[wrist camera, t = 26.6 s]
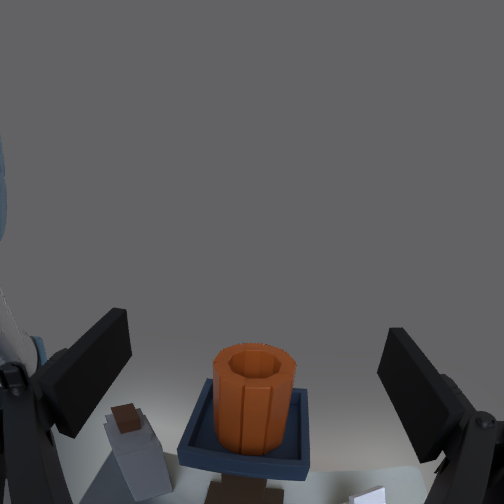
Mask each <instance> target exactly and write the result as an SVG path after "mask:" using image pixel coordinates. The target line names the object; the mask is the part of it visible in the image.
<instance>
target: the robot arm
mask: <svg viewBox="0 0 504 504" xmlns="http://www.w3.org/2000/svg"><path fill="white" fill-rule="evenodd" d="M4 176H5V167H4V157H3V151H2V143H1V137H0V240H1V239H2V237H3V234H4V229H5V224H6V207H7V205H6V186H5V180H4ZM131 356H132V351H131V344H130V337H129V329H128V321H127V311H126V309H119V308H112V309H111V310H110V311H109V312H108V313H107V314H106V315H105V316H104V317H102V318H101V319H100V320H99V321H98V322H97V323H96V324H95V325H94V326H93V327H92V328H90V329H89V330H88V331H87V332H86V333H85V334H84V335H83V336H82V337H81V338H80V339H79V340H78V341H77V342H76V343H75V344H74V345H72V346H71V347H70V348H69V349H66V348H64V349H62V350H60V351H58V352H56V353H55V354H54V355H53V356H52V357H51V358H50V359H49V360H47V358H46V352H45V348H44V344H43V340H42V338H40V337H35V336H29V335H28V334H27V333H26V332H25V331H23V330H22V329H20V328H18V327H17V326H16V323H15V321H14V319H13V317H12V314H11V312H10V310H9V307H8V305H7V302H6V300H5V297H4V295H3V292H2V290H1V287H0V504H3V498H4V487H5V479H6V472H7V479H8V486H9V492H10V498H11V503H12V504H73V502H72V500H71V497H70V494H69V491H68V488H67V485H66V482H65V478H64V475H63V472H62V468H61V465H60V461H59V457H58V453H57V449H56V445H55V441H54V436H53V433H52V431H51V429H50V428H51V427H52V426H53V425H54V423H55V424H56V427H57V429H58V431H59V433H61V434H64V435H66V436H68V437H71V438H74V439H75V437H76V436H77V434H78V433H79V431H80V430H81V428H82V427H83V425H84V424H85V422H86V421H87V419H88V418H89V417H90V415H91V413H92V412H93V411H94V409H95V408H96V406H97V405H98V403H99V402H100V400H101V399H102V397H103V396H104V395H105V393H106V392H107V390H108V389H109V387H110V386H111V385H112V383H113V382H114V380H115V379H116V377H117V376H118V374H119V373H120V372H121V370H122V369H123V367H124V366H125V365H126V363H127V362H128V360H129V359H130V357H131ZM377 374H378V376H379V377H380V380H381V381H382V384H383V386H384V388H385V390H386V392H387V394H388V396H389V397H390V400H391V402H392V404H393V406H394V408H395V410H396V412H397V414H398V416H399V418H400V420H401V422H402V425H403V427H404V429H405V431H406V433H407V435H408V437H409V440H410V442H411V444H412V446H413V448H414V451H415V453H416V455H417V457H418V459H419V462H420V463H425V462H429V461H433V460H436V459H437V458H438V456H439V455H440V453H441V451H442V450H443V451H444V453H445V455H446V457H445V458H444V460H443V461H442V462H441V464H440V465H439V467H438V468H437V470H436V471H435V472H434V473H437V472H438V473H437V476H436V478H435V481H434V483H433V485H432V487H431V490H430V492H429V494H428V496H427V498H426V500H425V503H424V504H504V421H496V419H495V418H494V417H493V416H492V415H491V414H489V413H487V412H483V411H476V410H475V408H474V407H473V406H472V404H471V403H470V402H469V400H468V399H467V398H466V396H465V395H464V394H462V391H461V390H460V389H459V388H458V386H457V385H456V384H455V382H454V381H453V380H452V379H451V378H449V377H448V376H446V375H445V374H439V373H438V372H437V370H436V369H435V367H434V366H433V365H432V363H430V361H429V360H428V359H427V357H426V356H425V355H424V353H423V352H422V351H421V350H420V348H419V347H418V346H417V345H416V343H415V342H414V341H413V340H412V339H411V337H410V336H409V335H408V334H407V332H406V331H405V330H404V329H403V328H389V332H388V336H387V340H386V343H385V347H384V351H383V354H382V357H381V361H380V364H379V368H378V371H377Z"/></svg>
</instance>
